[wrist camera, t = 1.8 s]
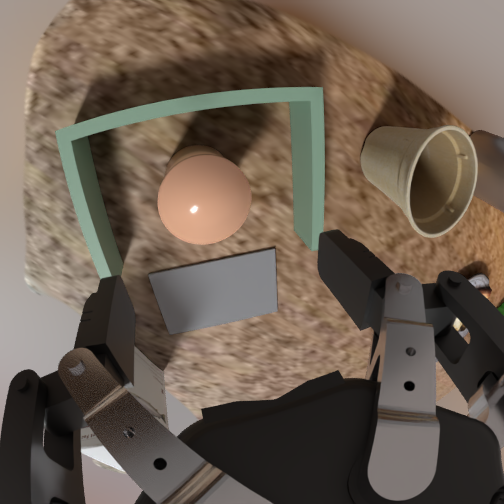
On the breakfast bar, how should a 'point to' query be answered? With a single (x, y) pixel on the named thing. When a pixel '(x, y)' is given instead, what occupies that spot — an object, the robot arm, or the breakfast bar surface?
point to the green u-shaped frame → (300, 102)
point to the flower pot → (423, 173)
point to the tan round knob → (203, 196)
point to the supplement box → (146, 393)
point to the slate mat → (217, 291)
